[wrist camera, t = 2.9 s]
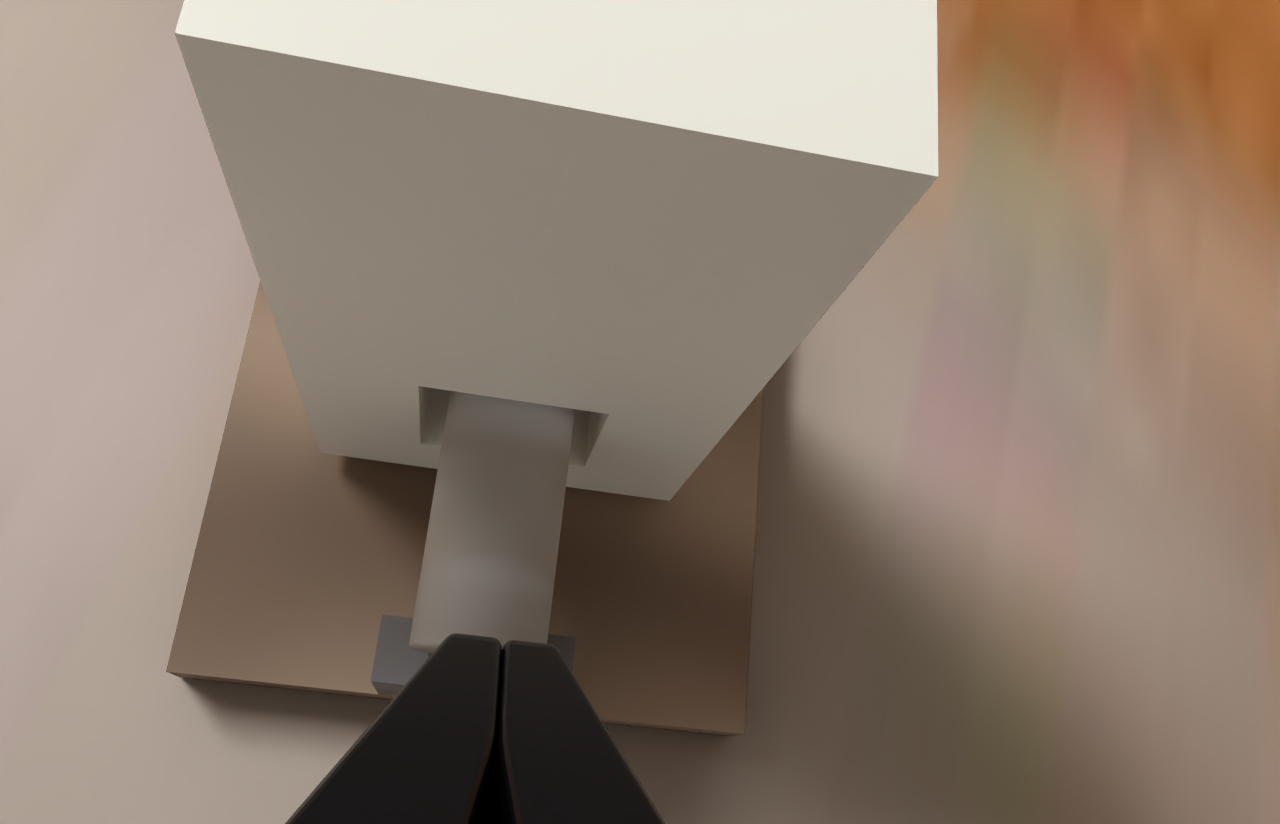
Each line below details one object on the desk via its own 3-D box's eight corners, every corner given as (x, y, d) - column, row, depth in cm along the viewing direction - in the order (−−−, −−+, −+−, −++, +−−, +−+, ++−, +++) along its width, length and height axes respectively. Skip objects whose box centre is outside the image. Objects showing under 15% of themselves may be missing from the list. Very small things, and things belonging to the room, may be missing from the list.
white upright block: (669, 501, 20) (937, 177, 9) (320, 452, 19) (174, 32, 8) (685, 308, 21) (935, -166, 11) (360, 255, 20) (279, -321, 10)
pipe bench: (730, 736, 20) (825, 720, 15) (179, 677, 19) (89, 639, 14) (772, 12, 26) (851, -167, 21) (356, -73, 24) (337, -287, 20)
